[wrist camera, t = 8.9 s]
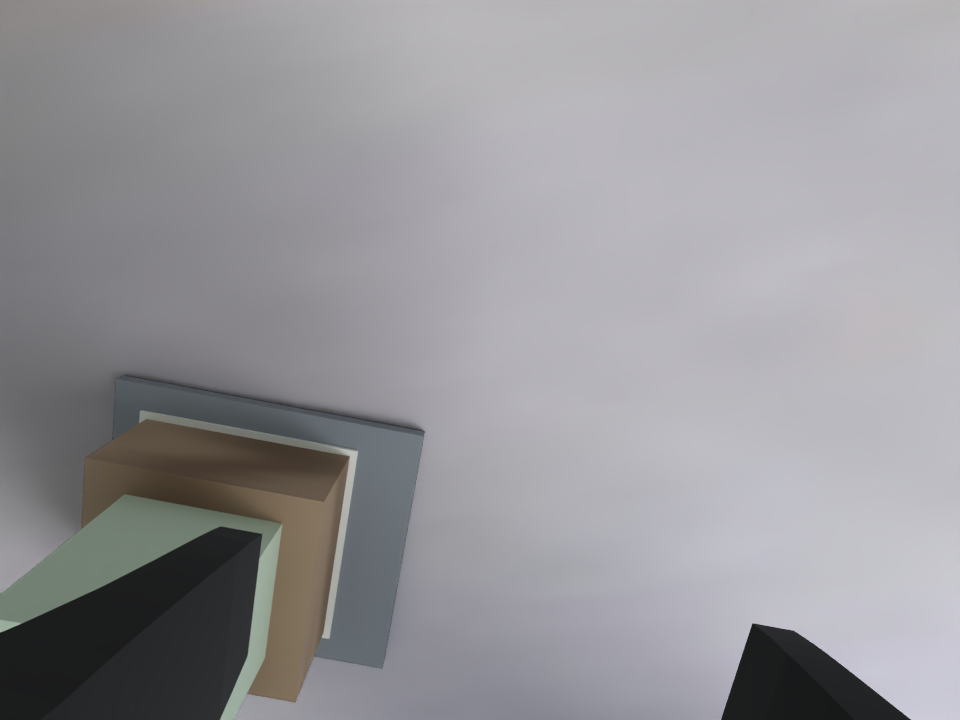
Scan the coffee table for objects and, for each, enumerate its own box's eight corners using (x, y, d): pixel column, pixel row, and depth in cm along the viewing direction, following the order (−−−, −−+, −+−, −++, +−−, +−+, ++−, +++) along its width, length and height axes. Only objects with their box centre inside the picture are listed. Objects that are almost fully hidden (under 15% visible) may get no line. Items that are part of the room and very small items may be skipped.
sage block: (282, 523, 17) (195, 654, 12) (265, 657, 18) (178, 829, 13) (124, 494, 17) (-26, 615, 12) (115, 631, 18) (-28, 793, 13)
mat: (424, 431, 20) (422, 437, 20) (384, 660, 22) (381, 670, 21) (123, 375, 20) (113, 379, 19) (109, 610, 22) (100, 620, 21)
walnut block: (349, 456, 20) (323, 502, 17) (323, 632, 21) (295, 702, 18) (146, 418, 20) (84, 458, 17) (133, 597, 21) (75, 662, 18)
